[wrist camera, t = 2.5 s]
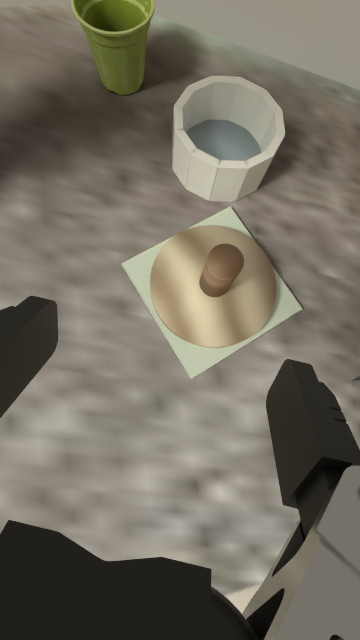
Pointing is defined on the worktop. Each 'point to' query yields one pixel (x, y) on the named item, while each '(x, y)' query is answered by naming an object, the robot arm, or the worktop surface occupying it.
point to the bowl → (225, 137)
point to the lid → (213, 286)
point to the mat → (188, 354)
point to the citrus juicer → (356, 382)
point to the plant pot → (117, 39)
